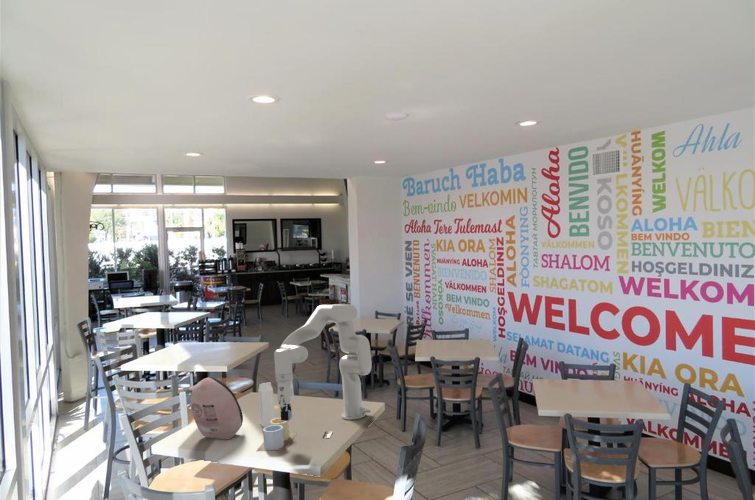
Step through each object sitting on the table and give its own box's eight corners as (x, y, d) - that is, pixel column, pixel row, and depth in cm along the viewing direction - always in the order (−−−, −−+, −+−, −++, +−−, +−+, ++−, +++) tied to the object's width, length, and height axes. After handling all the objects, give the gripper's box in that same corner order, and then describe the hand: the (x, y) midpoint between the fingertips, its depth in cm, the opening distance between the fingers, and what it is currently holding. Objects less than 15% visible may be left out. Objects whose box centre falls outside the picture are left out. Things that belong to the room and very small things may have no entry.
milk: (275, 426, 255) (272, 383, 255) (263, 429, 252) (261, 385, 252) (271, 423, 260) (269, 380, 260) (259, 426, 257) (257, 382, 257)
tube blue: (285, 442, 230) (284, 424, 230) (280, 449, 222) (279, 431, 222) (267, 442, 231) (266, 425, 231) (261, 450, 222) (260, 432, 222)
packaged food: (249, 432, 249) (245, 371, 248) (222, 448, 231) (218, 382, 230) (214, 428, 258) (211, 369, 257) (185, 443, 240) (181, 380, 239)
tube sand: (291, 434, 240) (290, 417, 240) (286, 440, 232) (285, 423, 232) (274, 434, 241) (273, 417, 241) (268, 441, 232) (267, 423, 232)
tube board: (332, 431, 243) (332, 429, 243) (323, 452, 219) (322, 449, 219) (272, 433, 246) (272, 431, 246) (256, 453, 222) (256, 451, 222)
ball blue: (293, 418, 228) (292, 407, 228) (290, 422, 223) (290, 411, 223) (282, 419, 228) (281, 408, 228) (279, 423, 223) (278, 411, 223)
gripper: (287, 381, 217) (290, 424, 217) (296, 371, 234) (299, 411, 234) (270, 382, 217) (272, 424, 217) (280, 372, 234) (283, 412, 234)
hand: (286, 417), depth 225 cm, fingers closed on ball blue, 4 cm apart
